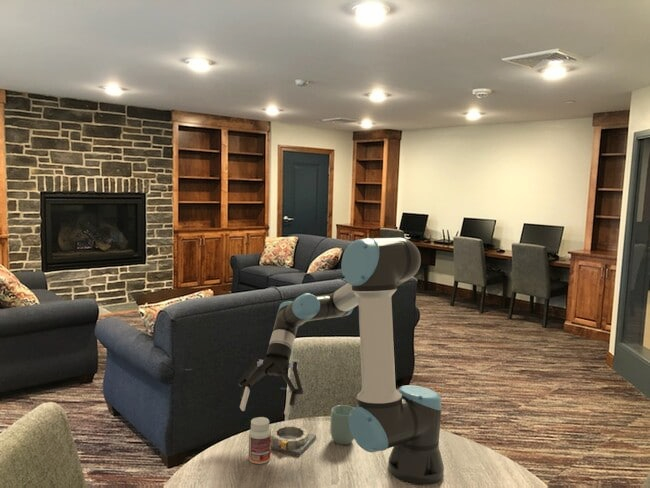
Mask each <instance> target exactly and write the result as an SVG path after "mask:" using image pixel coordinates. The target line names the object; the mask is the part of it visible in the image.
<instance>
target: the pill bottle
mask: <svg viewBox="0 0 650 488" xmlns="http://www.w3.org/2000/svg"><path fill="white" fill-rule="evenodd" d="M271 436H272V430H271V429H270V420H269V419H268V417H264V416H258V417H253V418H252V419H251V420H250V429H249V431H248V460H249V462H251V463H252V464H255V465H263V464H267V463H268V462H269V461H270V460H271V456H272V455H271V453H272V452H271V451H272V450H271Z"/></svg>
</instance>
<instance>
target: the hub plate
mask: <svg viewBox="0 0 650 488" xmlns="http://www.w3.org/2000/svg"><path fill="white" fill-rule="evenodd" d="M315 440H317V435H316V434H314V433H313V434H312V433H310V432H309V433H308V430H307V429H305V428H304V427H302V426H299V425H295V424H288V425H287V424H285V425H280V426H278V427H275V429H273V430H272V434H271V451H275V452H280V453H283V454H289V455H292V456H297V457H301V456H302V454H303V453H304V452H306V451H307V449H308V448H309V447H310V446H311V445H312V443H314V441H315Z"/></svg>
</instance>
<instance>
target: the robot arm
mask: <svg viewBox="0 0 650 488" xmlns="http://www.w3.org/2000/svg"><path fill="white" fill-rule="evenodd" d="M421 256H422V255H421V252H420V250H419V248H418V247H417V246H416V245H415V243H413V242H412V241H410V240H409V239H408V238H404V237H397V236H396V237H395V236H394V237H367V238H361V239H360V238H359V239H356V240H353V241H352V242H351V243H349V244H348V245H347V248H346V249H344V252H343V255H342V259H341V265H340V266H341V274H342V276H343V277H344V281H345V282H346V283H345V284H344V285H343V286H341V287H339V288H338V289H336V290H335V291H334V292H332V293H329V294H325V295H317V296H316V295H314V294H311V293H309V292H305V293H303V294H301V295H299V296H297V297H296V298H294V300H293V301H291V300H290V301H289V300H288V301H283V302H281V303H280V304H279V306H278V307H279V308H278V310H277V313H276V318H275V322H274V326H273V328H272V329H273V330H272V333H271V336H270V339H269V345H268V347H267V351H266V354H265V358H264V359H259V357H258V356H257V357H255V358H254V360H253V362H252V364H251V365H250V366H249V368H247V370H246V371H245V372H244V373H243V374H242V375H241V377H240V378H239V379H238V380H237V384H238V386H239V387H241V390H240V395H239V397H240V399H241V401H240V404H239V408H240V410H241V411H242V412H244V411H246V407H247V403H248V399H249V396H250V394H251V393H250V392H251V390H250V388H251V387H252V386H254V385H255V384H256V383H257V382H259V381H260V380H261V379H262V378H263V377H266V376H268V375H269V376H270V377H271V376H272V377H273V376H275V377H280V376H282V378H283V379H284V381H285V382H286V385H287V386H288V388H289V389H290V391H289V392H288V395H287V399H286V403H285V407H284V411H283V414H284V416H285V418H289V416H290V412H291V406H294V405H295V404H296V399H297V396H299V395H303V394H304V390H303V387H302V382H301V379H300V374H299V364H298V362H297V361H294V362H292V363H291V362H290V361H291V360H290V359H291V356H292V351H293V347H294V343H295V340H296V335H297V331H298V328H299V327H301V326H303V324H305V323H306V322H311V321H317V320H319V321H321V320H325V319H333V318H343V317H345V316H346V317H347V316H349V315H351V314H352V312H353V310H354V308H356V307H357V306H358V323H359V344H360V345H359V346H360V364H361V365H360V366H361V369H360V370H361V386H362V387H361V391H359V392H358V394H357V395H356V405H357V406H355V407H354V408H353V409H352V410H351V412H350V414H349V427H350V431H351V434H352V436H353V438H354V439H353V440H355V442H356V444H357V445H358V446H359V447H360V448H361V449H362V450H364V451H366V452H368V453H377V452H381V451H382V452H383V451H386V450H387V449H391V448H392V450H391V451H390V455H389V457H388V464H387V469H388V472H389V474H390V475H392V477H393V478H395V479H397V480H398V481H401V482H403V483H406V484H410V485H415V486H428V485H434V484H436V483H438V482H440V481H442V479H443V477H444V471H445V465H444V461H443V458H442V453H441V451H440V450H441V449H440V446H439V445H440V444H439V443H440V433H441V432H440V431H441V419H442V397H441V396H440V394H439V393H438V392H437V391H434V390H432V389H431V388H428V387H425V386H419V385H413V384H412V385H411V384H409V385H408V384H407V385H401V386H400V387H399V388H398V390H397V388H396V370H395V369H396V368H395V349H394V345H395V344H394V327H393V325H394V324H393V307H392V306H393V304H392V296H393V295H394V294H395V292H396V291H397V290H398V286H400V285H402V284H403V283H405V282H407V281H409V280H410V279H412V278H413V277H414V276H415V275H416V274H418V271H419V269H420V267H421V261H422V259H421ZM261 366H262V367H261ZM260 367H261V368H260ZM259 368H260V369H259ZM258 369H259V370H258ZM289 369H290V370H291V371H293V376H294V379H295V384H296V386H297V388H296V387H295V386H294V384H293V382H292V381H291V379H290V377H289V375H288V373H287V370H289ZM257 370H258V371H257ZM256 371H257V372H256ZM255 372H256V373H255Z"/></svg>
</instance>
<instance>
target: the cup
mask: <svg viewBox="0 0 650 488" xmlns="http://www.w3.org/2000/svg"><path fill="white" fill-rule="evenodd" d="M353 408H355V407H353V406H351V405H346V404H338V405H335V406H332V407H331V411H330V435H331V439H332V440H333V442H335V444H338V445H344V446H345V445H348V444H350V443H353V441H354V440H355V439H354V438H353V436H352V434H351V431H350V427H349V414H350V412H351V410H352V409H353Z"/></svg>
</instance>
